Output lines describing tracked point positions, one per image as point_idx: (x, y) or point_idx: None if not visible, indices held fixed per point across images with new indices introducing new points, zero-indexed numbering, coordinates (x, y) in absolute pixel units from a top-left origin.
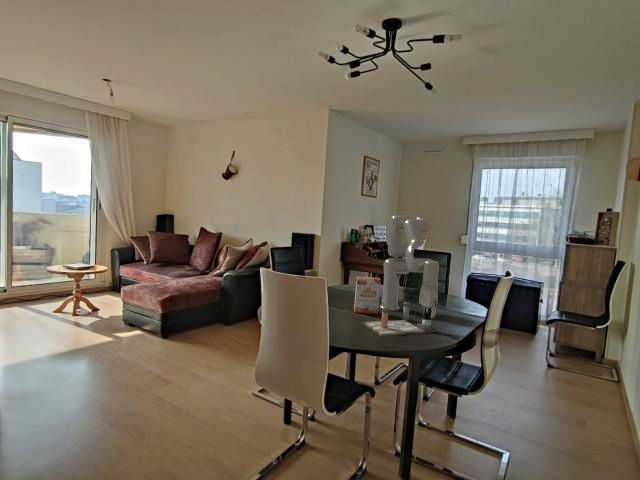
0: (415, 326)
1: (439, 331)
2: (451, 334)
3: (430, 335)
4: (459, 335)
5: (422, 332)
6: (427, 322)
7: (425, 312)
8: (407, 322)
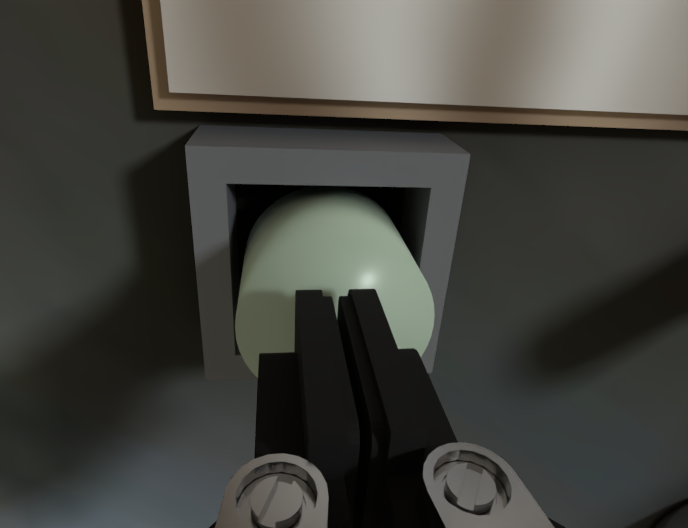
0: (439, 102)
1: (233, 391)
2: (100, 464)
3: (41, 145)
4: (61, 523)
5: (152, 56)
6: (243, 285)
7: (341, 427)
8: (681, 98)
